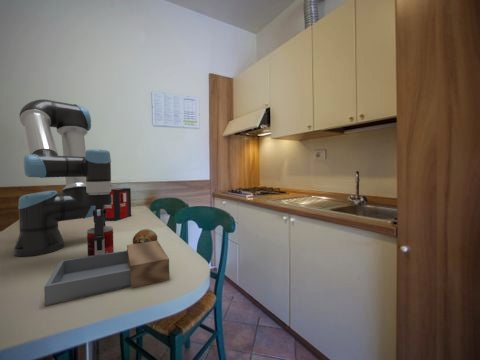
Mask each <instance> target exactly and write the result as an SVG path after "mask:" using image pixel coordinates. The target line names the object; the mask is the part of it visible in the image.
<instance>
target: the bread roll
mask: <svg viewBox="0 0 480 360" xmlns="http://www.w3.org/2000/svg"><path fill="white" fill-rule="evenodd" d="M152 241H158V235H157V234H156V232H155V231H154V230H152V229H149V228H145V229H140V230H139V231H137V232H136V233H135V234H134V236H133V238H132V244H138V243H145V242H152Z"/></svg>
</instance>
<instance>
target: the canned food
mask: <svg viewBox="0 0 480 360" xmlns="http://www.w3.org/2000/svg"><path fill="white" fill-rule="evenodd" d="M100 236H101V235H100ZM86 238H87V239H86V241H87V256H93V255H95V241H92V238H94V227H92V228H89V229H87V231H86ZM104 247H105V254H106V253H113V252H115V251H114V248H115V247H114V228H113V226H111V225H107V226H104Z"/></svg>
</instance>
